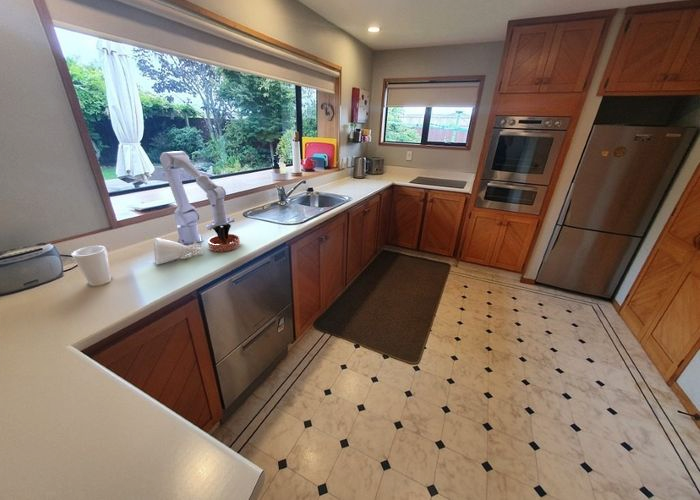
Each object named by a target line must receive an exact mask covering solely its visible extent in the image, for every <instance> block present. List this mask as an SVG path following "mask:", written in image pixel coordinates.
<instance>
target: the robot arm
mask: <svg viewBox="0 0 700 500" xmlns="http://www.w3.org/2000/svg"><path fill="white" fill-rule="evenodd" d="M159 161H160V164H161V166H162V169H163V171H164V174H165V176H166V179H167V182H168V184H169V187H170V191H171V193H172V195H173V198H174V201H175V203H176V209H175V210H174V212H173V213H174V219H175V222H176V224H177V225H176V230H177V233H178V241H179V243H180V244H183V245H188V244H194V242H197V243H200V242H202V238H201V235H200V232H199V226H198V223H199V220H200V214H199V212H198V210H197V209H196V207H195V206H194V205H192V204H190V202H189V199H188V196H187V193H186V190H185V187H184V184H183V182H182V178H181V176H180V171H181V170H182V169H183V170H184V171H185V172H187V173H188V175H190V176H191V177H193V179H195V183H196V185H198V187H200V189H201V190H202V191H204V192H205V193H206V198H207V200H208V201H209V204H210V205H211V212H212V216H213V222H211V223H209V224H206V230H209V231H212V230H213V231H214V232H215V233H216V236H217V235H218V237H219V239H220V240H222V241H223V240H224V236H223V230H225V237H226V239H228V234H230V233H229V232H230V230H231V227H232V225H231V224H230V223H235V222H236V221H235V218H234V217H227V211H226V204H225V198H226V197H227V192H226V190H225V188H224V187H223V186H222V185H219V184H215V182H214V181H213V180H211V178H210V177H209V176H208V175H207V174H202V173H201V171H199V170H198V168H197V167H196V165H194V164H193V162H191V160H190V156H189V155H188V154H187V153H186V151H184V150H179V151H178V150H176V151H164V152H162V153H161V154H160V157H159ZM221 226H224V228H222V227H221Z"/></svg>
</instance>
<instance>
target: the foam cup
mask: <svg viewBox="0 0 700 500" xmlns="http://www.w3.org/2000/svg"><path fill="white" fill-rule="evenodd" d="M70 255H71V257H72V259H73V261H74V262H75V263H76V265H77V267H78V269H79V270H80V271H81V273H82V275H83V276H84V278H85V280H86V281H87V282H88V284H89V285H90V286H92V287H98V286H102V285H105V284H108V283H110V282H111V281H112V276H111V269H110V264H109V263H110V262H109V257H108V250H107V247H105V246H104V245H91V246H89V245H88V246H84V247H80V248H77V249H76V250H74V251H72V252H70Z"/></svg>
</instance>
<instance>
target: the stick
mask: <svg viewBox="0 0 700 500" xmlns="http://www.w3.org/2000/svg"><path fill="white" fill-rule="evenodd" d="M221 227H222V228H224V226H221ZM223 236H224V240H223V241H222V243H223V244H227V243H226V237H225V230H223Z"/></svg>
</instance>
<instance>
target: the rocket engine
mask: <svg viewBox="0 0 700 500" xmlns="http://www.w3.org/2000/svg"><path fill="white" fill-rule="evenodd" d="M202 247H203V244H198V242H194V243H192V244H189V245H186V244H181V243H180V242H178V241H177V242H176V241H174V240H170V239H165V238H161V237H155V238H154V241H153V253H154V260H155V264H156V265H161V264H166V263H169V262H172V261H175V260H178V259H180V258H181V259H182V260H183V259H187V258H189V257H192V256H193V257H194V256H202V255H203V252H202V251H200V249H199V248H202Z"/></svg>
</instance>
